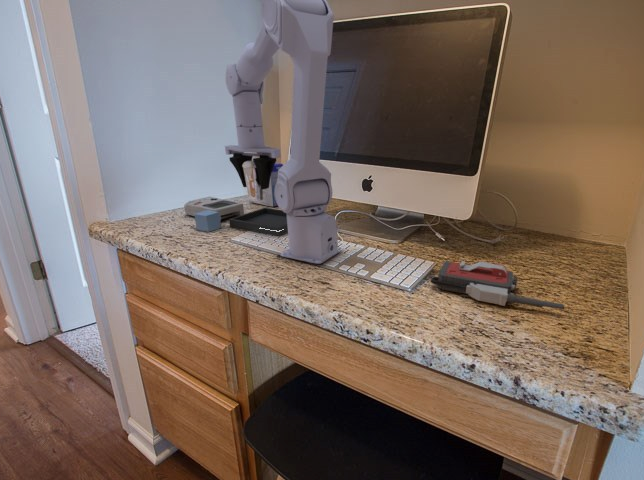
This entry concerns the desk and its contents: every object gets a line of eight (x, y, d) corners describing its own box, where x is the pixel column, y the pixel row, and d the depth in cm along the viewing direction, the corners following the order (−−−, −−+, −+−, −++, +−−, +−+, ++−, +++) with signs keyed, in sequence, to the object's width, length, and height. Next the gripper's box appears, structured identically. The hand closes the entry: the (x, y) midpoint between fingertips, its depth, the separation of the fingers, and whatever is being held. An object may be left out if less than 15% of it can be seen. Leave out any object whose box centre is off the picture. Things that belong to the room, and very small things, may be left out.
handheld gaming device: (211, 208, 109) (209, 195, 107) (245, 216, 102) (243, 202, 100) (183, 215, 102) (180, 202, 101) (217, 224, 95) (214, 209, 93)
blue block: (221, 227, 92) (219, 211, 90) (208, 232, 89) (205, 215, 87) (209, 225, 94) (207, 209, 92) (196, 229, 90) (193, 213, 89)
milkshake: (266, 202, 87) (261, 158, 84) (243, 201, 88) (238, 157, 84) (271, 197, 92) (267, 155, 88) (249, 197, 92) (245, 155, 88)
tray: (311, 221, 97) (310, 214, 97) (278, 236, 87) (278, 227, 86) (265, 214, 104) (264, 207, 103) (229, 226, 93) (228, 219, 92)
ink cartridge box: (287, 204, 115) (283, 155, 109) (273, 207, 111) (269, 157, 105) (264, 199, 120) (260, 152, 114) (251, 203, 115) (245, 154, 110)
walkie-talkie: (426, 293, 60) (562, 319, 53) (428, 268, 59) (569, 292, 52) (438, 273, 68) (559, 293, 61) (440, 250, 66) (565, 269, 59)
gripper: (287, 126, 84) (291, 187, 89) (237, 124, 89) (244, 182, 95) (266, 128, 78) (272, 193, 83) (214, 126, 83) (223, 186, 89)
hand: (256, 187), depth 88 cm, fingers closed on milkshake, 5 cm apart
